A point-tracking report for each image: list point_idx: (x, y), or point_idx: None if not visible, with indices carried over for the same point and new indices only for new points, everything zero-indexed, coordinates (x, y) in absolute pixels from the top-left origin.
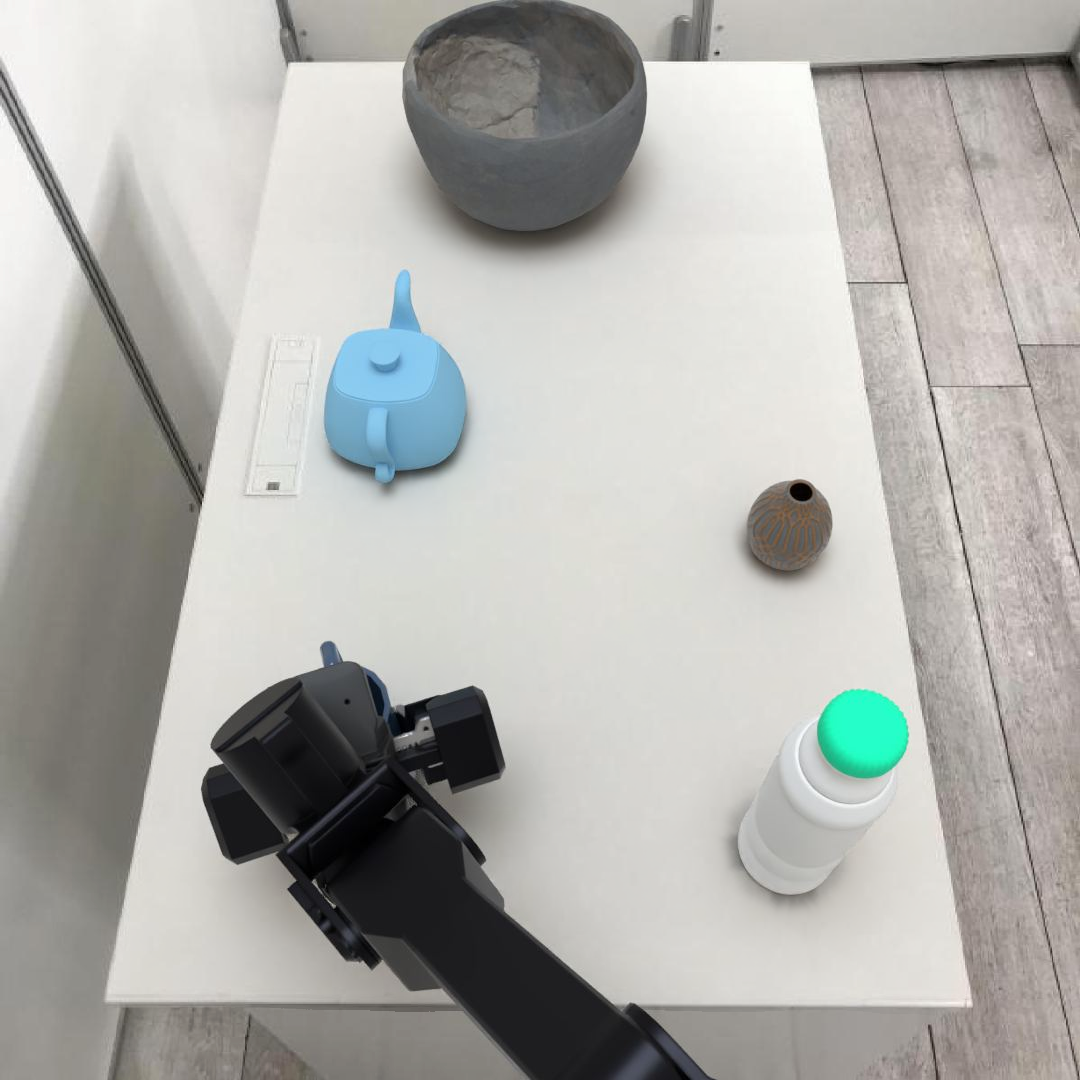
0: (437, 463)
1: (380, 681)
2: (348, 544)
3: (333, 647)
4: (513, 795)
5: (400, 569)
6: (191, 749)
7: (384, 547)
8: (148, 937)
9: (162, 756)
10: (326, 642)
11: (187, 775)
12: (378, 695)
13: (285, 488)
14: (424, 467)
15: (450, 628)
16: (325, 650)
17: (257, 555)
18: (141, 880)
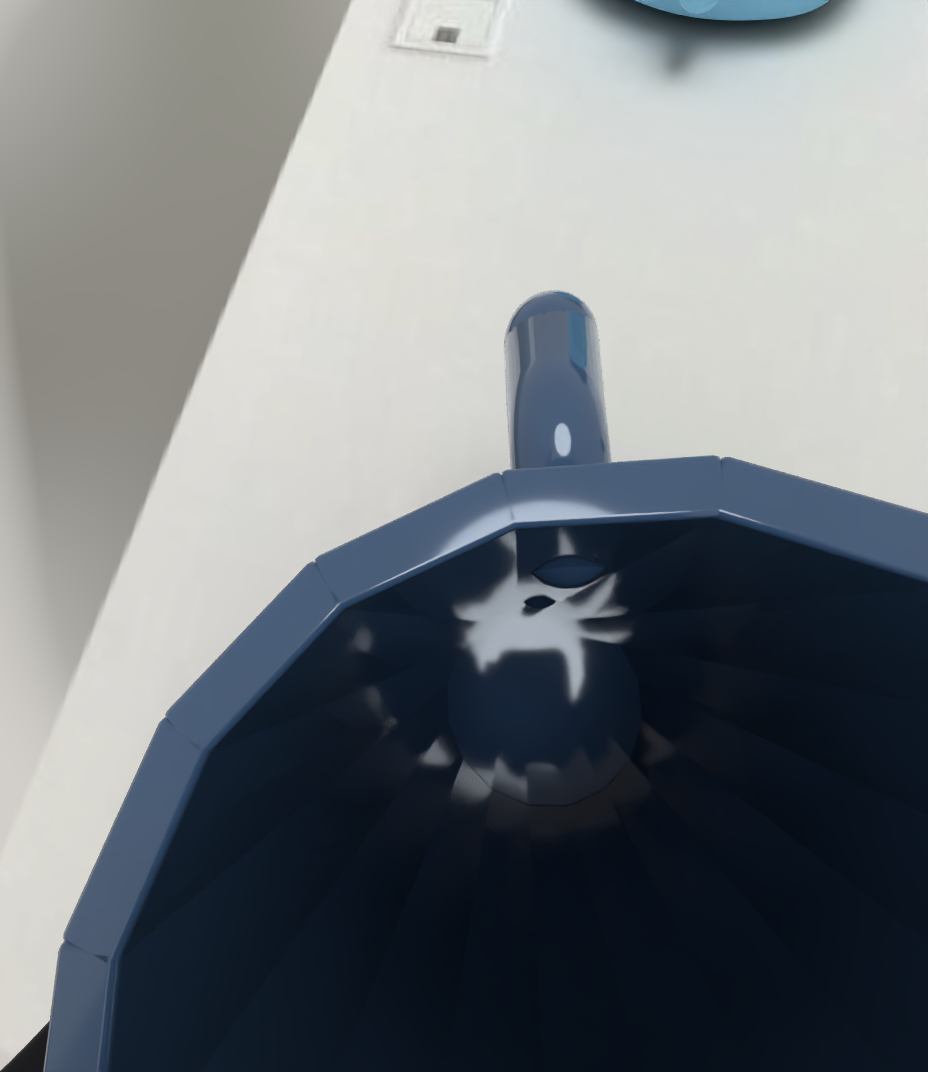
0: (808, 9)
1: None
2: (574, 168)
3: (590, 333)
4: None
5: (678, 238)
6: (188, 529)
7: (650, 185)
8: (20, 915)
9: (134, 529)
10: (555, 293)
11: (169, 582)
12: (793, 682)
13: (468, 41)
14: (777, 13)
15: (777, 392)
16: (541, 340)
17: (390, 163)
18: (37, 781)
